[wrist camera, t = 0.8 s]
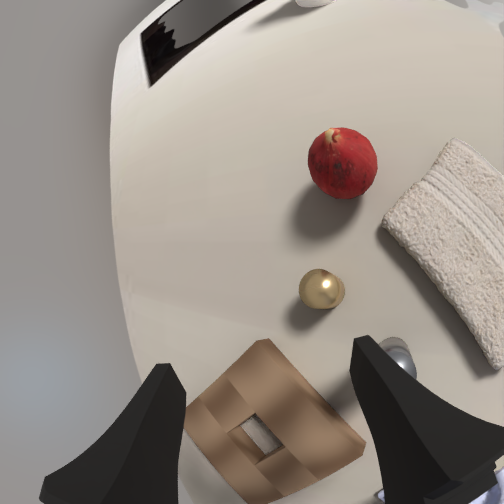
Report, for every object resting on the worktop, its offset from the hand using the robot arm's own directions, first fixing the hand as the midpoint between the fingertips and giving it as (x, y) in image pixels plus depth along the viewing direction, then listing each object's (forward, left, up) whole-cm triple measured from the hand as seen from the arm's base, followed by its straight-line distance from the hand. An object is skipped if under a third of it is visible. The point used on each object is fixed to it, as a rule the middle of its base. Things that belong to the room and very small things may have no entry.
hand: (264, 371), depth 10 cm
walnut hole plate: (-3, +12, -14) cm, 18 cm away
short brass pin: (+3, -2, -14) cm, 15 cm away
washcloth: (-6, -14, -15) cm, 21 cm away
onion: (+8, -11, -14) cm, 20 cm away
